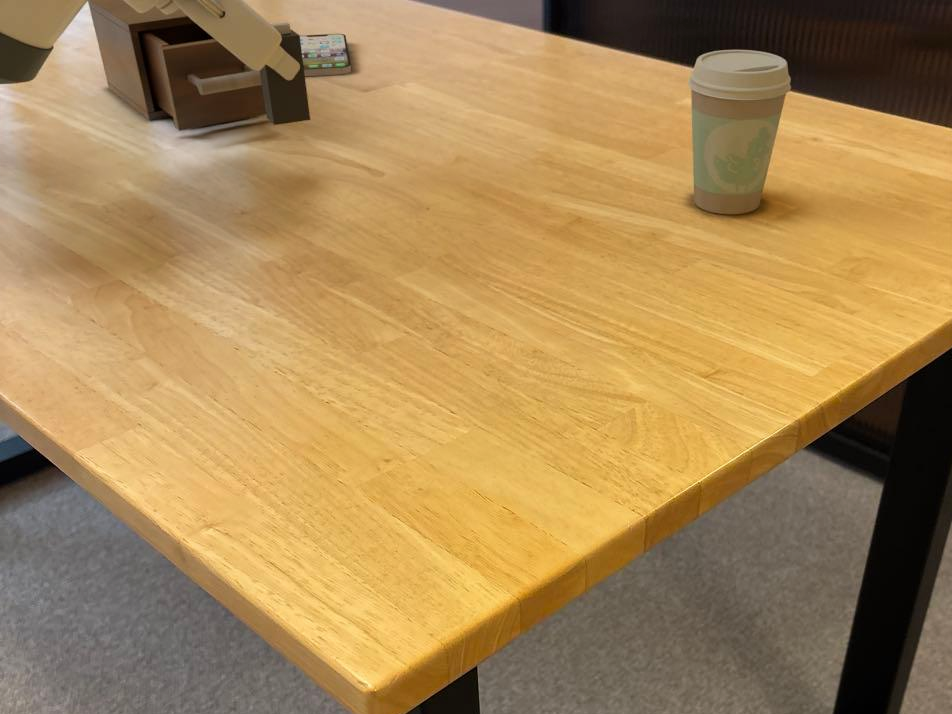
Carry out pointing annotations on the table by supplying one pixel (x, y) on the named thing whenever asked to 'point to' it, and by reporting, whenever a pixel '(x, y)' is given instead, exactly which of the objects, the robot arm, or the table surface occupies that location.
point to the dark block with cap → (286, 84)
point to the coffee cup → (735, 126)
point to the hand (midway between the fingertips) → (288, 67)
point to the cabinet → (129, 49)
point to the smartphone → (325, 54)
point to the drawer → (198, 78)
